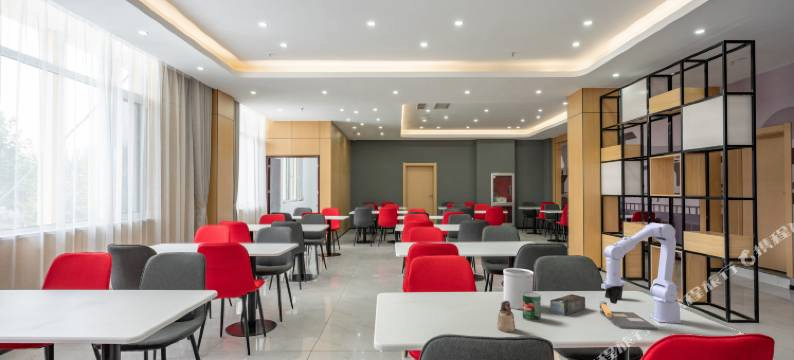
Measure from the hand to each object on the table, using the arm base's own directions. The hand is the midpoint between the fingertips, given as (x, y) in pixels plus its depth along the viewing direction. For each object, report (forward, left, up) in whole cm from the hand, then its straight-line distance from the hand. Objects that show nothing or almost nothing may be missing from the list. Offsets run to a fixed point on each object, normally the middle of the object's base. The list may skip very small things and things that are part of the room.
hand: (613, 303), depth 181 cm
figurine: (+50, +16, -9) cm, 53 cm away
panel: (-7, -2, -8) cm, 11 cm away
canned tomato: (+36, 0, -9) cm, 37 cm away
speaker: (-18, -42, -9) cm, 46 cm away
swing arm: (+1, -5, -6) cm, 7 cm away
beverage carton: (+15, -15, -9) cm, 23 cm away
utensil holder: (+38, -20, -9) cm, 43 cm away
